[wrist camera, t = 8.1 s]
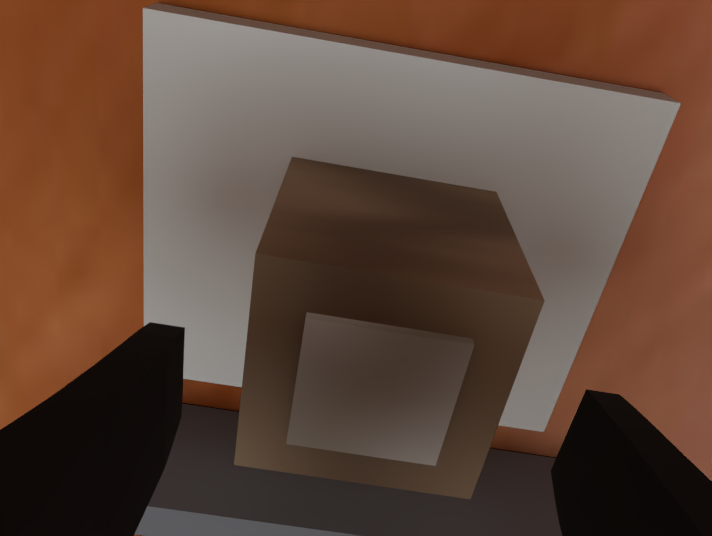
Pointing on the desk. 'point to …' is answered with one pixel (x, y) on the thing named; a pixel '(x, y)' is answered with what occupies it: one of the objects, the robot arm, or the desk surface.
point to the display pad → (376, 169)
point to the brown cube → (382, 330)
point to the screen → (332, 495)
